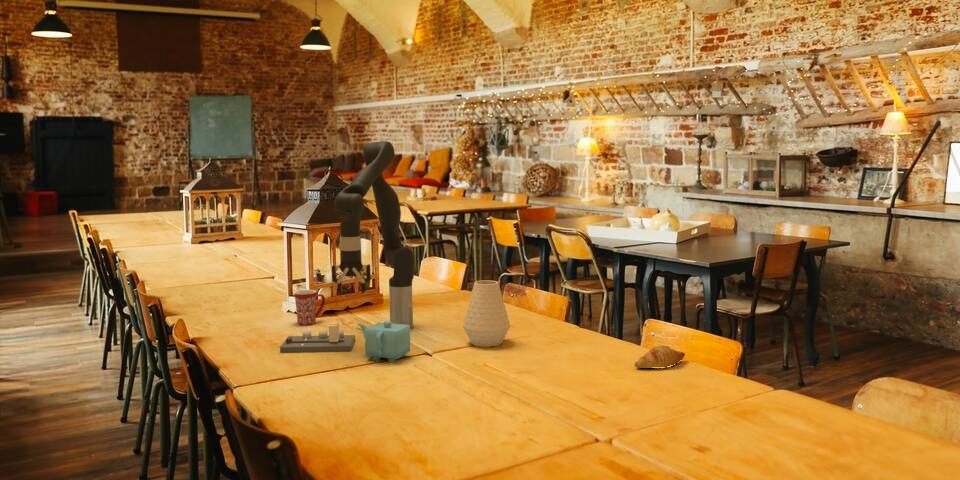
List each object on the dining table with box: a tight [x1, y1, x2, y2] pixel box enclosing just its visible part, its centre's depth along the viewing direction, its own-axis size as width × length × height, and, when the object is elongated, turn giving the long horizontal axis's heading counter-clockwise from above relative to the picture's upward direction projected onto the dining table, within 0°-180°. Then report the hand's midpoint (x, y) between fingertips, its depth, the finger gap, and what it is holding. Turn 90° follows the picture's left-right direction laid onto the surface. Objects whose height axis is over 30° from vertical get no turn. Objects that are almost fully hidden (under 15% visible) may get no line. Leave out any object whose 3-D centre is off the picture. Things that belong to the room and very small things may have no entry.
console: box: [279, 329, 356, 354], centre depth 295 cm, size 25×16×4 cm, turn 93°
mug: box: [293, 289, 326, 327], centre depth 331 cm, size 13×9×14 cm
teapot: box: [356, 320, 411, 363], centre depth 279 cm, size 18×16×13 cm
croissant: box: [634, 345, 686, 369], centre depth 267 cm, size 21×10×8 cm, turn 120°
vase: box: [462, 279, 511, 348], centre depth 296 cm, size 18×17×23 cm
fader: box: [328, 322, 340, 342], centre depth 293 cm, size 3×5×6 cm, turn 3°
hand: (351, 293), depth 292 cm, fingers open, 7 cm apart
